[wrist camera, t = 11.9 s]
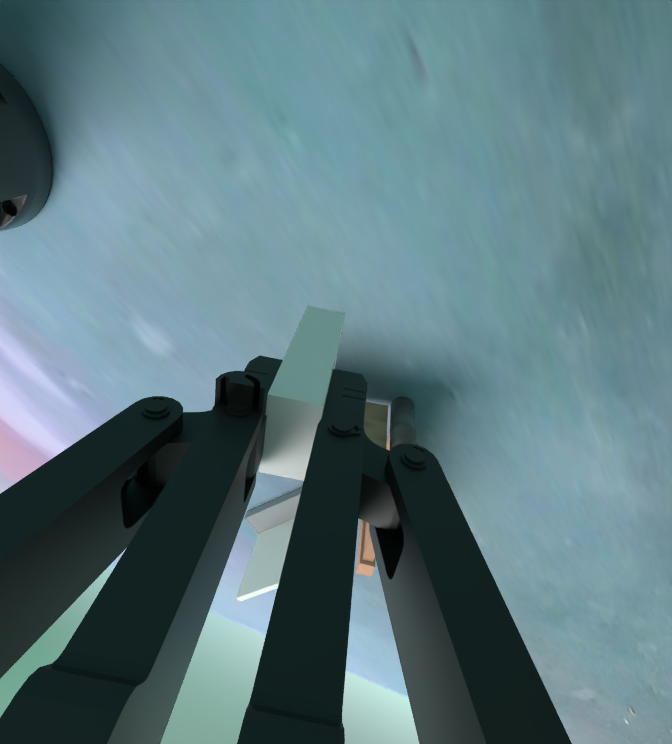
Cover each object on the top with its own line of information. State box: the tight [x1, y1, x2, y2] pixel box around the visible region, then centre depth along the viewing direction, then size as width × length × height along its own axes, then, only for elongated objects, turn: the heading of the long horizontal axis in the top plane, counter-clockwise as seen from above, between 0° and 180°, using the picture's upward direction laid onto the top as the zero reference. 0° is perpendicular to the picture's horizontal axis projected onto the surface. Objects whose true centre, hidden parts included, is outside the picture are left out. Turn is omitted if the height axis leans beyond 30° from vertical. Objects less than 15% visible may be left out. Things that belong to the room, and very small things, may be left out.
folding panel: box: [356, 436, 390, 577], centre depth 47 cm, size 14×2×8 cm, turn 169°
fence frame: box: [364, 397, 416, 450], centre depth 43 cm, size 15×2×10 cm, turn 83°
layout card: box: [236, 487, 302, 601], centre depth 52 cm, size 11×4×10 cm, turn 124°
